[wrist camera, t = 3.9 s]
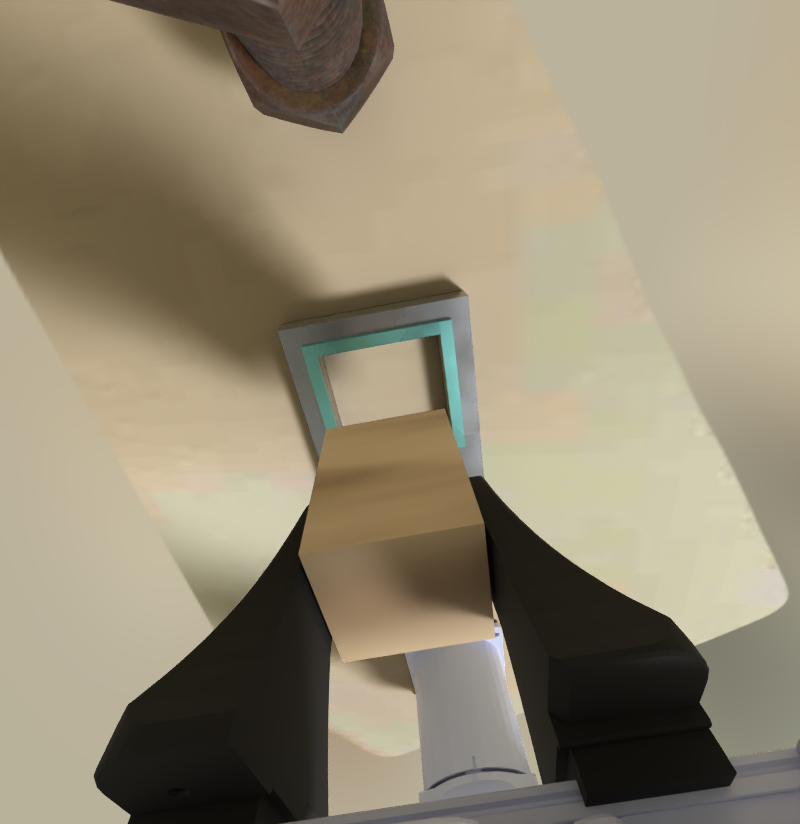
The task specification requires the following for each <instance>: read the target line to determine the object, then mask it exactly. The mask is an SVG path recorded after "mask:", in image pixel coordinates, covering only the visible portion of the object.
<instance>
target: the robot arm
mask: <svg viewBox="0 0 800 824" xmlns="http://www.w3.org/2000/svg"><path fill="white" fill-rule="evenodd" d="M469 480H470V483H471V486H472V489H473V492H474V495H475V498H476V500H477V503H478V506H479V509H480V512H481V515H482V518H483V521H484V525H485V536H486V546H487V557H488V567H489V578H490V588H491V598H492V601H493V604H494V607H495V610H496V612H497V615H498V618H499V621H500V624H501V625H500V624H499V623H494V630H495V638H494V639H488V640H482V641H475V642H469V643H463V644H457V645H450V646H444V647H438V648H432V649H425V650H419V651H413V652H407V653H405V657H406V660H407V664H408V667H409V671H410V674H411V678H412V681H413V685H414V689H415V692H416V701H417V713H418V724H419V736H420V748H421V760H422V772H423V783H424V791H423V792H420V793H419V801H420V802H419V803H416V804H409V805H403V806H396V807H389V808H382V809H376V810H369V811H362V812H355V813H349V814H342V815H335V816H329V817H328V704H329V673H330V653H331V642H332V635H331V633H330V630H329V628H328V626H327V623H326V621H325V618H324V616H323V613H322V611H321V608H320V606H319V604H318V601H317V599H316V596H315V594H314V591H313V589H312V587H311V584H310V582H309V579H308V577H307V574H306V572H305V569H304V567H303V565H302V562H301V560H300V557H299V555H298V554H299V549H300V545H301V540H302V536H303V531H304V527H305V522H306V518H307V513H308V509H309V505H308V506H307V507H306V509H305V510H304V512H303V513H302V515H301V517H300V518H299V520H298V522H297V523H296V525H295V526H294V528H293V530H292V531H291V533H290V534H289V536H288V538H287V539H286V541H285V542H284V544H283V545H282V547H281V548H280V550H279V551H278V553H277V554H276V556H275V557H274V559H273V560H272V562H271V563H270V564H269V566H268V567H267V568H266V570H265V571H264V573H263V574H262V575H261V577H260V578H259V579H258V581H257V582H256V583H255V585H254V586H253V587H252V588H251V590H250V591H249V592H248V593H247V595H246V596H245V597H244V598H243V599H242V600H241V602H240V603H239V604H238V605H237V606H236V607H235V609H234V610H233V611H232V612H231V613H230V614H229V615H228V616H227V617H226V618H225V619H224V620H223V621H222V622H221V623H220V624H219V625H218V626H217V627H216V628H215V629H214V630H213V632H212V633H211V634H210V635H209V636H208V637H207V638H206V639H205V640H204V641H203V642H201V644H199V645H198V646H197V647H196V648H195V649H194V650H193V651H192V652H191V653H190V654H189V655H187V656H186V657H185V658H184V659H183V660H182V661H181V662H180V663H178V665H176V666H175V667H174V668H173V669H172V670H170V671H169V672H168V673H167V674H166V675H165V676H163V677H162V678H161V679H160V680H158V681H157V682H156V683H155V684H153V685H152V686H151V687H150V688H148V689H147V690H146V691H145V692H143V693H142V694H141V695H140V696H139V697H137V698H136V699H135V700H133V701H132V702H131V703H129V704H128V706H127V707H126V710H125V711H124V713H123V715H122V717H121V719H120V721H119V723H118V725H117V727H116V729H115V731H114V733H113V735H112V737H111V739H110V741H109V744H108V745H107V748H106V750H105V752H104V754H103V756H102V758H101V760H100V762H99V764H98V766H97V768H96V771H95V774H94V779H95V782H96V785H97V788H98V789H99V790H100V791H101V792H102V793H103V794H104V795H105V796H107V797H108V798H109V799H111V800H112V801H113V802H114V803H116V804H117V805H118V806H120V807H121V808H122V809H123V810H125V811H126V812H128V813H129V814H130V815H131V816H130V819H129V822H128V824H800V737H799V738H798V741H797V744H796V747H792V748H785V749H778V750H772V751H765V752H758V753H752V754H746V755H738V756H732V757H727V756H726V755H725V753H724V751H723V750H722V748H721V747H720V745H719V743H718V742H717V740H716V739H715V737H714V735H713V734H712V732H711V731H710V729H709V728H711V726H712V723H711V721H710V718H709V717H708V715H707V714H706V712H705V711H704V709H703V708H702V706H701V705H700V703H699V702H700V699H701V697H702V694H703V692H704V689H705V686H706V683H707V680H708V674H709V668H708V666H707V664H706V661H705V660H704V659H703V657H702V656H701V654H700V653H699V652H698V650H697V649H696V647H695V646H694V645H693V643H692V642H691V641H690V640H689V639H688V638H687V636H686V635H685V634H684V633H683V632H682V631H681V629H680V628H679V627H678V626H677V625H676V624H675V623H674V622H673V620H672V619H671V618H669V617H667V616H665V615H663V614H661V613H659V612H657V611H655V610H653V609H651V608H649V607H647V606H645V605H643V604H641V603H639V602H637V601H635V600H633V599H631V598H629V597H627V596H625V595H624V594H622V593H620V592H618V591H616V590H615V589H613V588H611V587H609V586H608V585H606V584H605V583H603V582H601V581H600V580H598V579H597V578H595V577H594V576H592V575H590V574H589V573H587V572H586V571H584V570H583V569H581V568H580V567H578V566H577V565H575V564H574V563H572V562H571V561H570V560H568V559H567V558H565V557H564V556H563V555H561V554H560V553H559V552H558V551H556V550H555V549H554V548H552V547H551V546H550V545H549V544H547V543H546V542H545V541H544V540H543V539H541V538H540V537H539V536H538V535H537V534H536V533H535V532H533V531H532V530H531V529H530V528H529V527H528V526H527V525H526V524H525V523H524V522H523V521H522V520H520V519H519V518H518V516H517V515H516V514H515V513H514V512H513V511H512V510H511V509H510V508H509V507H508V506H507V505H506V504H505V503H504V502H503V501H502V500H501V499H500V497H499V496H498V495H497V494H496V493H495V492H494V491H493V489H492V488H491V487H490V486H489V484H488V483H487V482H486V480H485V479H484V478H483V477H482V476H474V477H469ZM501 627H502V628H501ZM502 630H503V634H504V638H505V641H506V645H507V649H508V652H509V656H510V660H511V663H512V667H513V671H514V675H515V678H516V682H517V686H518V690H519V694H520V697H521V701H522V705H523V709H524V713H525V717H526V721H527V724H528V728H529V732H530V736H531V740H532V744H533V747H534V752H535V756H536V760H537V764H538V768H539V772H540V776H541V780H542V784H543V785H538V782H537V778H536V775H535V774H534V773H531V770H530V766H529V762H528V759H527V755H526V751H525V748H524V745H523V740H522V737H521V733H520V729H519V726H518V723H517V719H516V715H515V711H514V708H513V704H512V700H511V697H510V693H509V689H508V686H507V682H506V676H505V663H504V650H503V637H502Z"/></svg>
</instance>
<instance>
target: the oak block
mask: <svg viewBox="0 0 800 824" xmlns="http://www.w3.org/2000/svg"><path fill="white" fill-rule="evenodd" d="M298 555H299V557H300V560H301V562H302V565H303V567H304V569H305V572H306V574H307V577H308V579H309V582H310V584H311V587H312V589H313V591H314V594H315V596H316V599H317V601H318V604H319V606H320V608H321V611H322V613H323V616H324V618H325V621H326V623H327V626H328V628H329V630H330V633H331V635H332V638H333V640H334V643H335V645H336V648H337V650H338V652H339V655H340V657H341V660H342V662H343V663H345V662H351V661H357V660H363V659H369V658H376V657H382V656H388V655H394V654H401V653H407V652H413V651H419V650H425V649H432V648H438V647H444V646H450V645H457V644H463V643H469V642H475V641H482V640H488V639H494V638H495V630H494V619H493V609H492V598H491V588H490V578H489V567H488V557H487V546H486V536H485V525H484V521H483V518H482V515H481V512H480V509H479V506H478V503H477V500H476V498H475V495H474V492H473V489H472V486H471V483H470V480H469V477H468V474H467V471H466V469H465V466H464V463H463V460H462V457H461V454H460V451H459V448H458V445H457V443H456V440H455V437H454V434H453V431H452V428H451V425H450V422H449V419H448V416H447V414H446V411H445V408H444V409H438V410H432V411H427V412H421V413H416V414H410V415H404V416H399V417H393V418H387V419H382V420H376V421H371V422H365V423H359V424H354V425H348V426H343V427H337V428H331V429H326V432H325V436H324V441H323V445H322V450H321V454H320V459H319V463H318V468H317V472H316V477H315V481H314V486H313V490H312V495H311V500H310V504H309V509H308V513H307V518H306V522H305V527H304V531H303V536H302V540H301V545H300V549H299V554H298Z"/></svg>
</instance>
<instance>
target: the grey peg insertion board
mask: <svg viewBox="0 0 800 824" xmlns="http://www.w3.org/2000/svg"><path fill="white" fill-rule="evenodd" d="M277 333H278V336H279V339H280V342H281V345H282V348H283V351H284V354H285V357H286V360H287V363H288V366H289V369H290V372H291V375H292V378H293V381H294V384H295V387H296V390H297V393H298V396H299V400H300V403H301V406H302V409H303V412H304V415H305V418H306V421H307V424H308V427H309V430H310V433H311V436H312V439H313V442H314V445H315V448H316V451H317V454H318V457H319V459H320V454H321V450H322V445H323V441H324V436H325V432H326V429H331V428H337V427H342V423H341V420H340V416H339V413H338V409H337V406H336V402H335V398H334V395H333V391H332V388H331V384H330V381H329V377H328V374H327V370H326V366H325V363H324V359H323V356H325V355H330V354H336V353H341V352H346V351H352V350H357V349H363V348H368V347H374V346H379V345H385V344H390V343H395V342H401V341H406V340H412V339H417V338H423V337H428V336H433V335H438V342H439V350H440V358H441V365H442V373H443V381H444V389H445V396H446V404H447V412H448V419H449V422H450V425H451V428H452V431H453V434H454V437H455V440H456V443H457V445H458V448H459V451H460V454H461V457H462V460H463V463H464V466H465V469H466V471H467V474H468V477H474V476H482V477H483V478H484V473H483V461H482V450H481V438H480V426H479V415H478V403H477V392H476V380H475V369H474V357H473V346H472V334H471V323H470V311H469V300H468V295H467V294H466V293H465V292H464V291H457V292H452V293H447V294H441V295H436V296H431V297H425V298H420V299H415V300H409V301H404V302H399V303H393V304H388V305H383V306H377V307H372V308H367V309H361V310H356V311H350V312H345V313H340V314H334V315H329V316H324V317H318V318H313V319H308V320H302V321H297V322H292V323H286V324H282V325H281V327H280V328H279V329H278V331H277Z"/></svg>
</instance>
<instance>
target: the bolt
mask: <svg viewBox="0 0 800 824" xmlns="http://www.w3.org/2000/svg"><path fill="white" fill-rule="evenodd" d="M110 1H114V2H118V3H122V4H125V5H129V6H133V7H136V8H140V9H144V10H148V11H151V12H155V13H159V14H163V15H166V16H170V17H174V18H177V19H181V20H185V21H189V22H192V23H196V24H200V25H204V26H207V27H211V28H215V29H218V30H220V31H221V34H222V36H223V39H224V41H225V44H226V46H227V49H228V51H229V54H230V56H231V58H232V60H233V63H234V65H235V67H236V69H237V72H238V74H239V76H240V78H241V81H242V83H243V85H244V87H245V89H246V91H247V93H248V95H249V97H250V100H251V102H252V104H253V106H254V107H255V108H256V109H257V110H259V111H260V112H261V113H262V114H264V115H267V116H271V117H274V118H278V119H281V120H285V121H288V122H292V123H296V124H300V125H304V126H308V127H312V128H317V129H321V130H326V131H332V132H338V133H343V132H344V131H345V130H346V128H347V127H348V126H349V124H350V123H351V122H352V120H353V119H354V118H355V116H356V115H357V113H358V112H359V111H360V109H361V108H362V106H363V105H364V103H365V102H366V101H367V99H368V98H369V96H370V94H371V93H372V91H373V90H374V88H375V87H376V85H377V84H378V82H379V81H380V79H381V77H382V76H383V74H384V72H385V71H386V69H387V67H388V66H389V64H390V62H391V61H392V59H393V52H394V43H393V39H392V34H391V30H390V25H389V20H388V16H387V12H386V8H385V4H384V0H110Z"/></svg>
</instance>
